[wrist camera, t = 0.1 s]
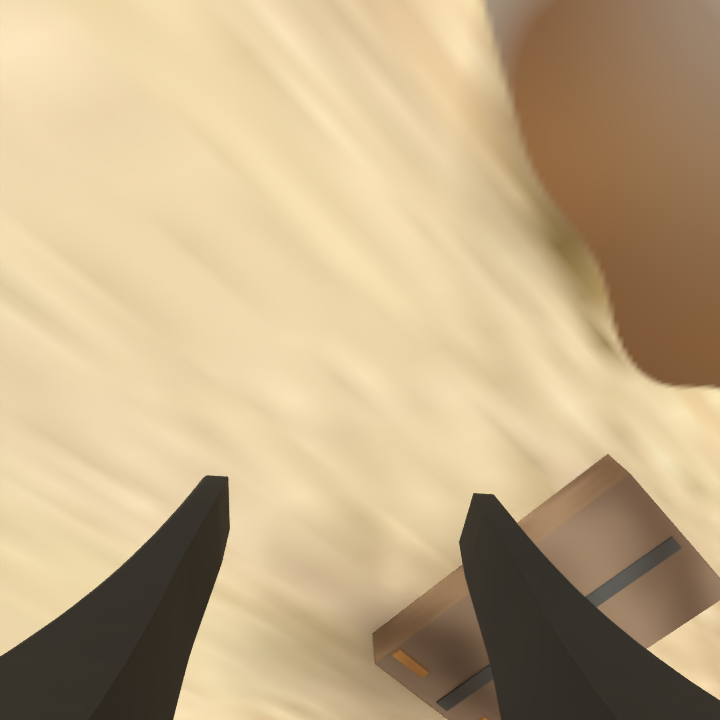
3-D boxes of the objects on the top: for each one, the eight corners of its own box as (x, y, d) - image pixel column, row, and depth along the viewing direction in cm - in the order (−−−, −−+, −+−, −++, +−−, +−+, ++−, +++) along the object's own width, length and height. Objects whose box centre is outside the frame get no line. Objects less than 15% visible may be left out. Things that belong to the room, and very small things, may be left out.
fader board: (480, 719, 31) (490, 753, 29) (372, 633, 28) (375, 665, 26) (705, 566, 28) (733, 593, 26) (607, 454, 25) (630, 474, 23)
